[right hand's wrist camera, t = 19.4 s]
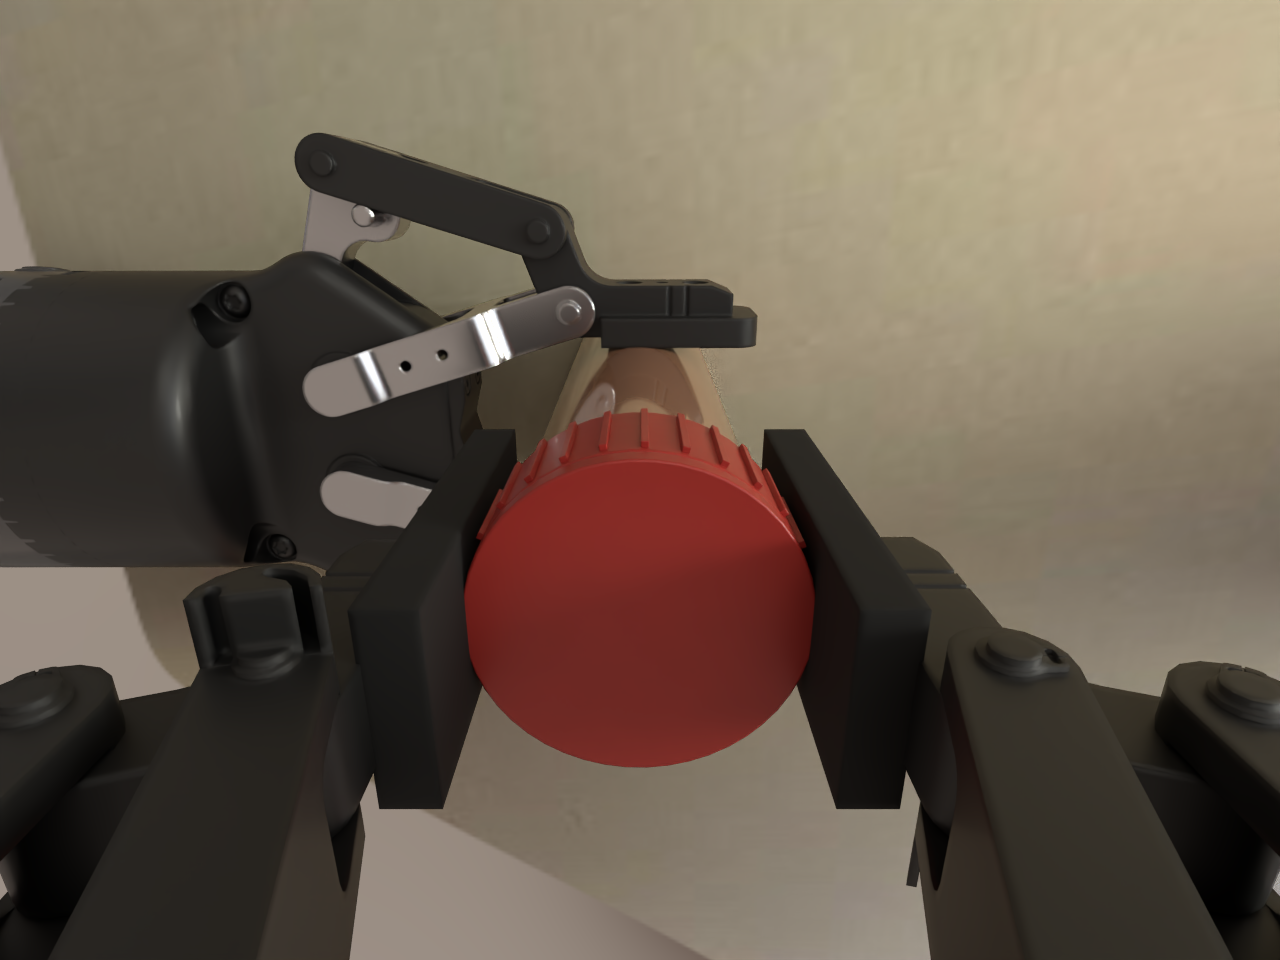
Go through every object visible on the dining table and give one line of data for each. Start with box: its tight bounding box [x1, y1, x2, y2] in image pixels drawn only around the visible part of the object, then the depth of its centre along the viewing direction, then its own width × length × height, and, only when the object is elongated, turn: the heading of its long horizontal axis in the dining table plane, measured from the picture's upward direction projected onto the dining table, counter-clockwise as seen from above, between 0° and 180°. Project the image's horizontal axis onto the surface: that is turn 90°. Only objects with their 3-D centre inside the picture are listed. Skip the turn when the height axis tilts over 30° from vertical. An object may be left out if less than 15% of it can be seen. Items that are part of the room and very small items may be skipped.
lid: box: [464, 408, 815, 767], centre depth 11 cm, size 5×5×2 cm
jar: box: [543, 338, 739, 447], centre depth 18 cm, size 4×4×16 cm
